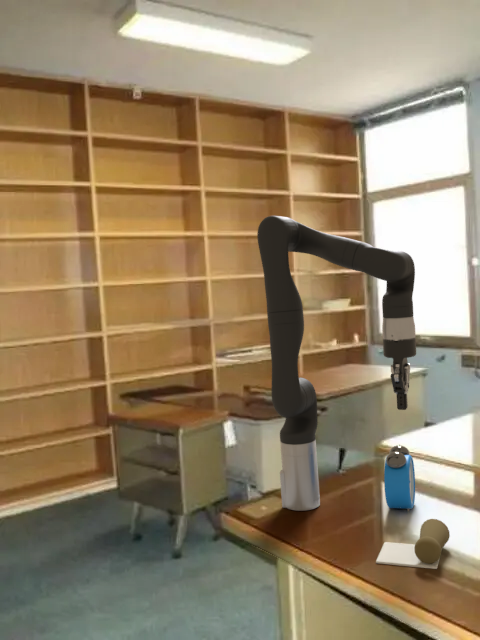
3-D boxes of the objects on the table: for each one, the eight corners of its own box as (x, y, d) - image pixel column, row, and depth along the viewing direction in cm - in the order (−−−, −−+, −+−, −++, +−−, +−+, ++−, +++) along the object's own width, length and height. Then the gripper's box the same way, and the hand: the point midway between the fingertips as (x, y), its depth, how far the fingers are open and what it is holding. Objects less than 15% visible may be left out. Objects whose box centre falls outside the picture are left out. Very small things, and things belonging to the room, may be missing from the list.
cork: (423, 547, 140) (414, 569, 130) (417, 519, 140) (407, 539, 130) (452, 545, 138) (445, 568, 128) (446, 517, 138) (438, 537, 128)
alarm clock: (411, 517, 156) (407, 456, 156) (385, 516, 159) (381, 455, 158) (416, 499, 169) (413, 442, 168) (392, 498, 171) (388, 441, 170)
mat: (376, 563, 133) (376, 561, 133) (384, 543, 142) (384, 541, 142) (436, 569, 129) (436, 567, 129) (441, 548, 138) (441, 546, 138)
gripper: (388, 333, 161) (391, 403, 162) (377, 339, 149) (381, 414, 150) (419, 333, 158) (422, 403, 159) (411, 339, 146) (414, 415, 147)
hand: (402, 409), depth 154 cm, fingers closed
